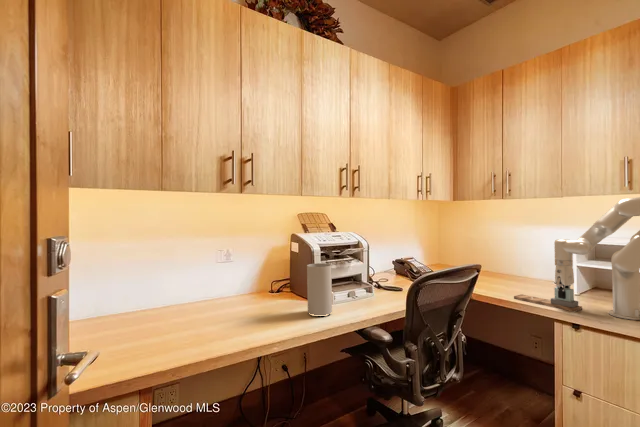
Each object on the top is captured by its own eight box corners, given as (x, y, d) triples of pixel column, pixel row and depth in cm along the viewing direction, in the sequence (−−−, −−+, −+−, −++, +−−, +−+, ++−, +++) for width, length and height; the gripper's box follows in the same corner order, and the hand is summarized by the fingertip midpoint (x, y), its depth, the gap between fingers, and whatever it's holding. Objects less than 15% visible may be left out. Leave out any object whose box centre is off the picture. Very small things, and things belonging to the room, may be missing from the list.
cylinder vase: (316, 308, 173) (315, 262, 173) (336, 312, 166) (335, 264, 166) (302, 315, 162) (302, 266, 162) (323, 319, 155) (322, 267, 156)
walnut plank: (582, 309, 164) (582, 306, 164) (574, 311, 161) (574, 308, 161) (521, 296, 191) (521, 294, 191) (513, 298, 187) (513, 296, 187)
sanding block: (578, 306, 165) (577, 289, 165) (572, 307, 162) (572, 291, 162) (556, 301, 174) (556, 286, 174) (550, 303, 171) (550, 287, 171)
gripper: (563, 265, 161) (564, 301, 161) (579, 262, 169) (580, 297, 169) (547, 263, 167) (547, 298, 167) (563, 260, 175) (563, 294, 175)
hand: (564, 297), depth 168 cm, fingers closed on sanding block, 4 cm apart
